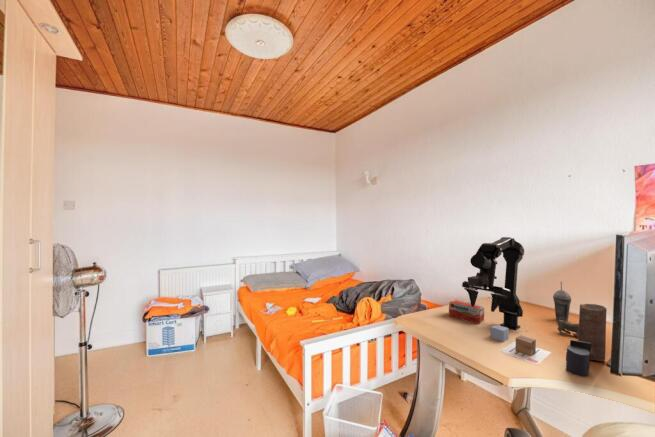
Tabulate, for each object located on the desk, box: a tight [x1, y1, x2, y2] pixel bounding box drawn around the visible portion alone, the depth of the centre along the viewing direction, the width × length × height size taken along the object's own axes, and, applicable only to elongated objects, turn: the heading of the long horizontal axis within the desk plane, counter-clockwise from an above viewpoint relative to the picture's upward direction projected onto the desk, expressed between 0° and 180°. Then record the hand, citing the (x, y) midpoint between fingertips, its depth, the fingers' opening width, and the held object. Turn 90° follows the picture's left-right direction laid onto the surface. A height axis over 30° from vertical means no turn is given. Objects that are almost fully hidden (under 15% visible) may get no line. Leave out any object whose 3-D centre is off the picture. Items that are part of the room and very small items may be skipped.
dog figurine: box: [556, 317, 579, 338], centre depth 120 cm, size 12×6×7 cm, turn 45°
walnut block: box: [515, 334, 537, 356], centre depth 104 cm, size 5×5×5 cm
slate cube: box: [490, 324, 510, 343], centre depth 116 cm, size 5×5×5 cm
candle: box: [577, 303, 608, 362], centre depth 100 cm, size 8×7×20 cm
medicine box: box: [448, 299, 485, 325], centre depth 140 cm, size 15×8×8 cm, turn 47°
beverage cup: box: [552, 281, 572, 323], centre depth 139 cm, size 7×7×20 cm
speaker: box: [565, 339, 591, 378], centre depth 90 cm, size 8×6×10 cm
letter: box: [499, 340, 552, 366], centre depth 104 cm, size 16×12×1 cm
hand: (482, 309), depth 112 cm, fingers open, 9 cm apart
